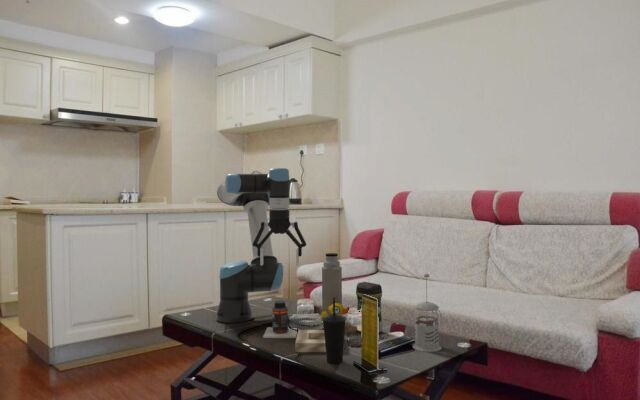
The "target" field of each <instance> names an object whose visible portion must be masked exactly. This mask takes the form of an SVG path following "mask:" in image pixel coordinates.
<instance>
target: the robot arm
mask: <svg viewBox="0 0 640 400" xmlns="http://www.w3.org/2000/svg"><path fill="white" fill-rule="evenodd" d="M216 195H217V198H218V199H219V201H220V202H221V203H223V204H225V205H227V206H231V207H242V208H243V211H244V212H245V213H247V219H248V227H249V235H250V240H251V241H250V242H251V249H252V257H253V259H251V260H250V264H249V262H248V261H245V260H244V261H243V260H242V261H234V262H229V263H225V264H223V265H222V266H220V269H219V277H218V278H219V303H218V306H217V310H216V313H215V319H216V322H220V323H228V324H232V323H233V324H236V323H243V322H249V321H250V320H252V319H253V318H254V317H253V316H254V315H253V309H252V306H251V304H250V301H249V293H259V292H260V293H261V292H272V291H273V292H274V291H278V290H280V288H281V287H282V284H283V279H284V265H283V263H282V262H278V258H277V257H276V256H275V255H274V253H273V252H274V251H273V247H272V241H271V236H272V234H273V233H274V234H275V235H277V234H278V235H279V234H281V235H284V234H286V236H288V237H289V238H290V239H291V241H292V242H293V243H294V244H295V246H296V248H295V251H296V253H295V255H296V256H295V257H296V258H295V259H296V261H295V262H296V265H295V266H299V265H300V257H302V253H303V251H302V250H303V249H302V248H304V247H306V246H307V242H306V240H305V238H304V236H303V235H302V232H301V230H300V228H299V222H298V221H293V222H290V209H289V208H290V170H289V169H288V168H285V167H284V168H282V167H281V168H279V167H278V168H277V167H275V168H274V167H273V168H270V169H269V173H236V172H235V173H229V174H226V176H225V180H224V182H222V183H221V184H220V185H219V186H218V187H217V190H216ZM268 209H270V210H269V214H267V210H268ZM268 215H269V221H268ZM290 227H292V228H293V229H294V231H295V233H296V234H297V237H298V238H299V240H298V239H297V238H296V236H295V235H294V234H293V233H292V232H291V231H290V230H289V229H290Z"/></svg>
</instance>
